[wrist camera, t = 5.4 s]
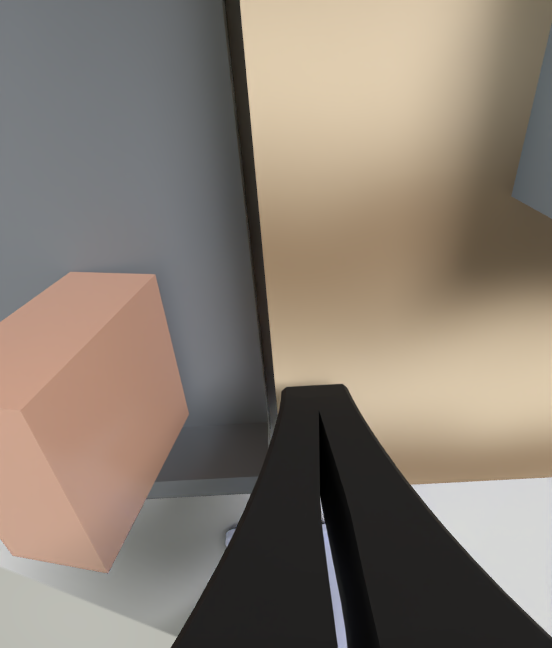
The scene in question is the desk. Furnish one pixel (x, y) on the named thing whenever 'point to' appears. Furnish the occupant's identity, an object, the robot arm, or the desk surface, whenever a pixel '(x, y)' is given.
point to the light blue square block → (538, 145)
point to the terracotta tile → (84, 416)
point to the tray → (140, 199)
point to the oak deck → (407, 222)
